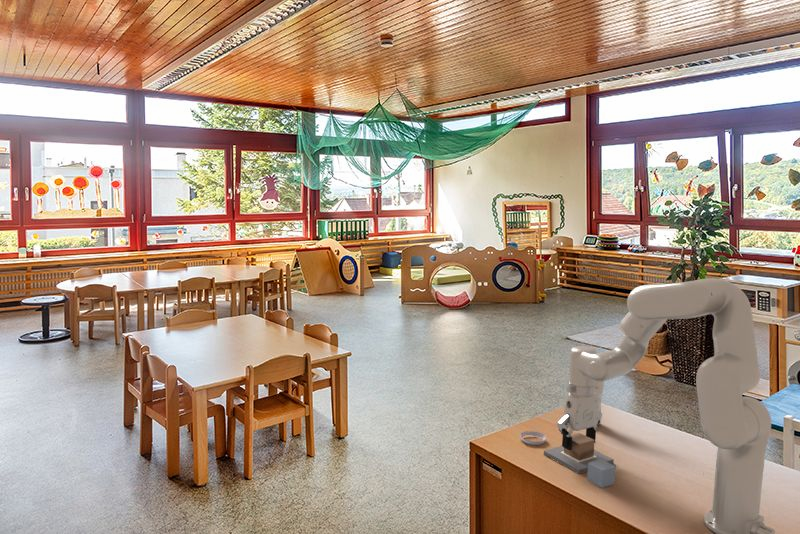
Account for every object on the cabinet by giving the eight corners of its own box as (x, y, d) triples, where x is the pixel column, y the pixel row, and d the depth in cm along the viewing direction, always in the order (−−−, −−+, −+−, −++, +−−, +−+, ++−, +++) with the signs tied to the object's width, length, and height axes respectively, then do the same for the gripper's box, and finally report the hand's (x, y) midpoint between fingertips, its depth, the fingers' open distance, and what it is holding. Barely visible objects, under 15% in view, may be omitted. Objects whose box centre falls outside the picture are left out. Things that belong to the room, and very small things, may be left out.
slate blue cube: (614, 483, 160) (615, 466, 159) (601, 488, 157) (602, 470, 157) (599, 476, 164) (600, 458, 163) (587, 480, 162) (588, 462, 161)
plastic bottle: (587, 418, 205) (590, 363, 203) (605, 424, 200) (608, 367, 198) (577, 423, 201) (580, 366, 199) (594, 429, 196) (598, 371, 194)
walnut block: (593, 456, 173) (594, 440, 172) (578, 460, 170) (579, 444, 169) (578, 448, 178) (579, 432, 177) (563, 452, 175) (564, 436, 174)
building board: (613, 463, 172) (613, 458, 171) (578, 473, 165) (579, 469, 165) (577, 445, 184) (577, 440, 184) (543, 454, 177) (543, 450, 177)
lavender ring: (550, 442, 186) (551, 436, 186) (536, 449, 181) (536, 443, 181) (529, 434, 192) (529, 429, 192) (515, 441, 187) (515, 435, 187)
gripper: (569, 397, 164) (566, 456, 166) (612, 388, 173) (609, 443, 175) (550, 389, 171) (547, 446, 173) (592, 381, 179) (589, 434, 181)
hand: (578, 444), depth 174 cm, fingers open, 9 cm apart
